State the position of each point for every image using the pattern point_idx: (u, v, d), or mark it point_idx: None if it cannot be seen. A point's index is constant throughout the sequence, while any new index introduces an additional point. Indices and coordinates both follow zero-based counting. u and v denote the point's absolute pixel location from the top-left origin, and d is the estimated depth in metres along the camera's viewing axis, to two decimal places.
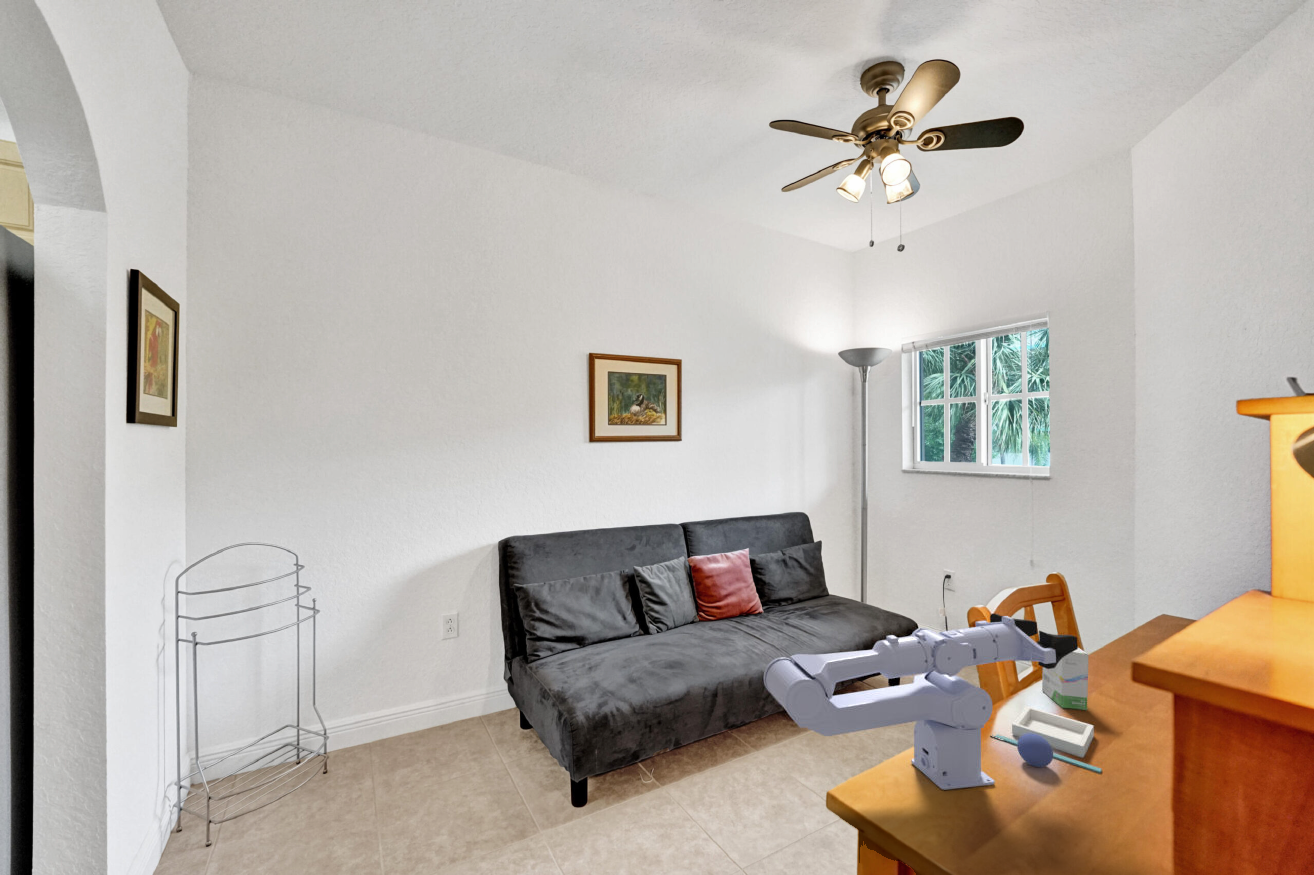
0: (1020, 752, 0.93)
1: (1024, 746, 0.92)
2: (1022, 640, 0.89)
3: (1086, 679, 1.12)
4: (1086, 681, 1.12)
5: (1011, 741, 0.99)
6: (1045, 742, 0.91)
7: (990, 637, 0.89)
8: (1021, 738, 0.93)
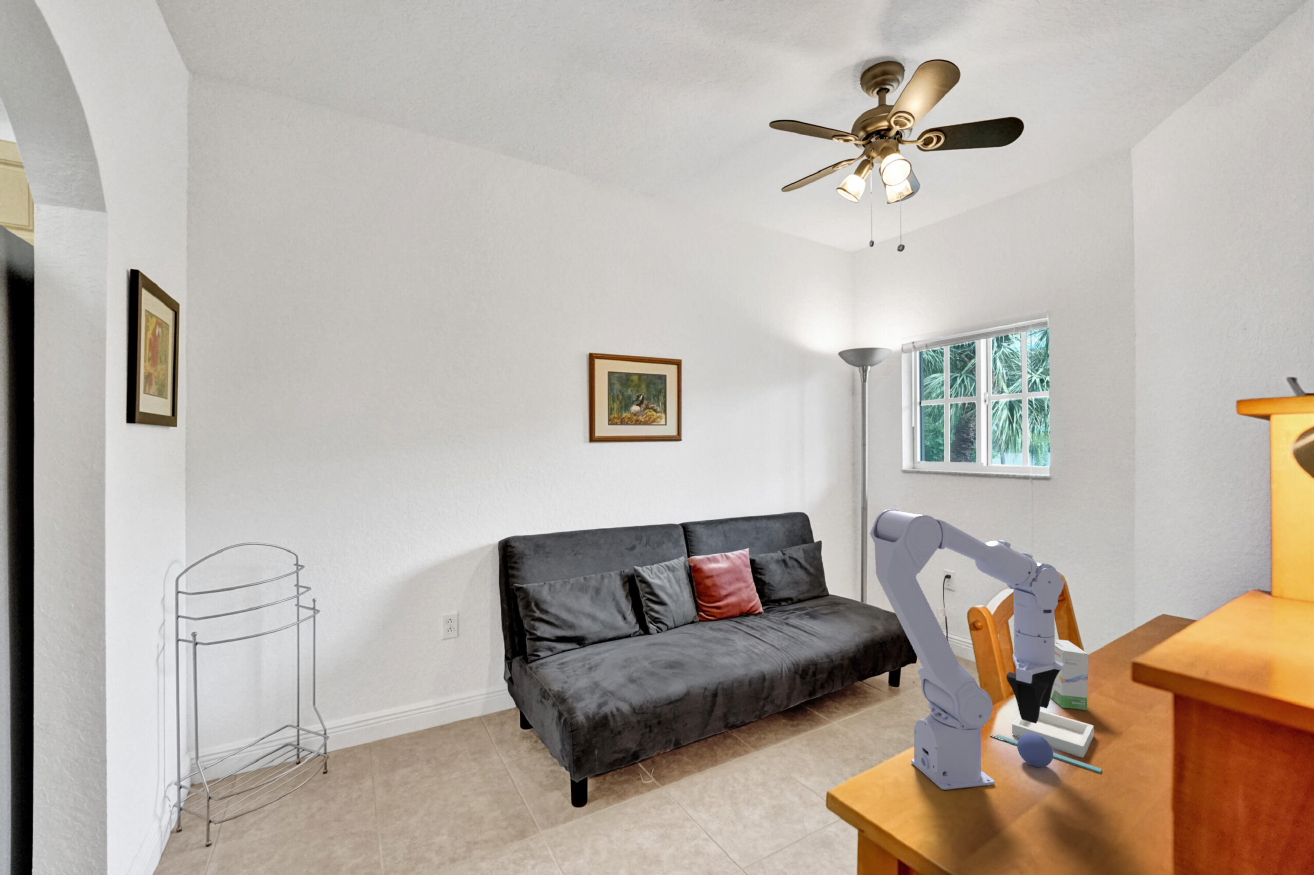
0: (1020, 752, 0.93)
1: (1024, 746, 0.92)
2: (1037, 665, 0.90)
3: (1086, 679, 1.12)
4: (1086, 681, 1.12)
5: (1011, 741, 0.99)
6: (1045, 742, 0.91)
7: (1054, 631, 0.91)
8: (1021, 738, 0.93)
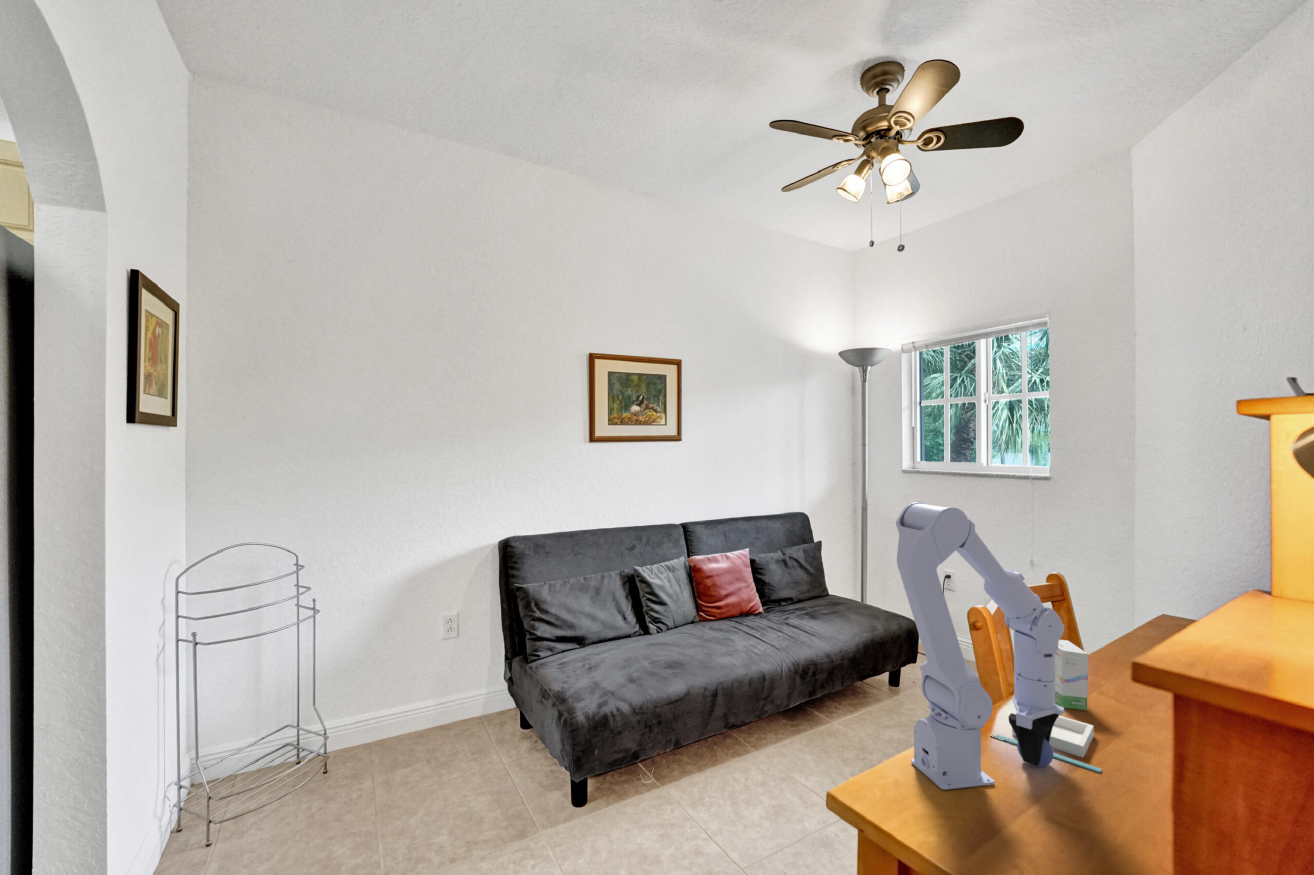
0: (1020, 752, 0.93)
1: None
2: (1038, 710, 0.90)
3: (1086, 679, 1.12)
4: (1086, 681, 1.12)
5: (1011, 741, 0.99)
6: (1045, 742, 0.91)
7: None
8: None
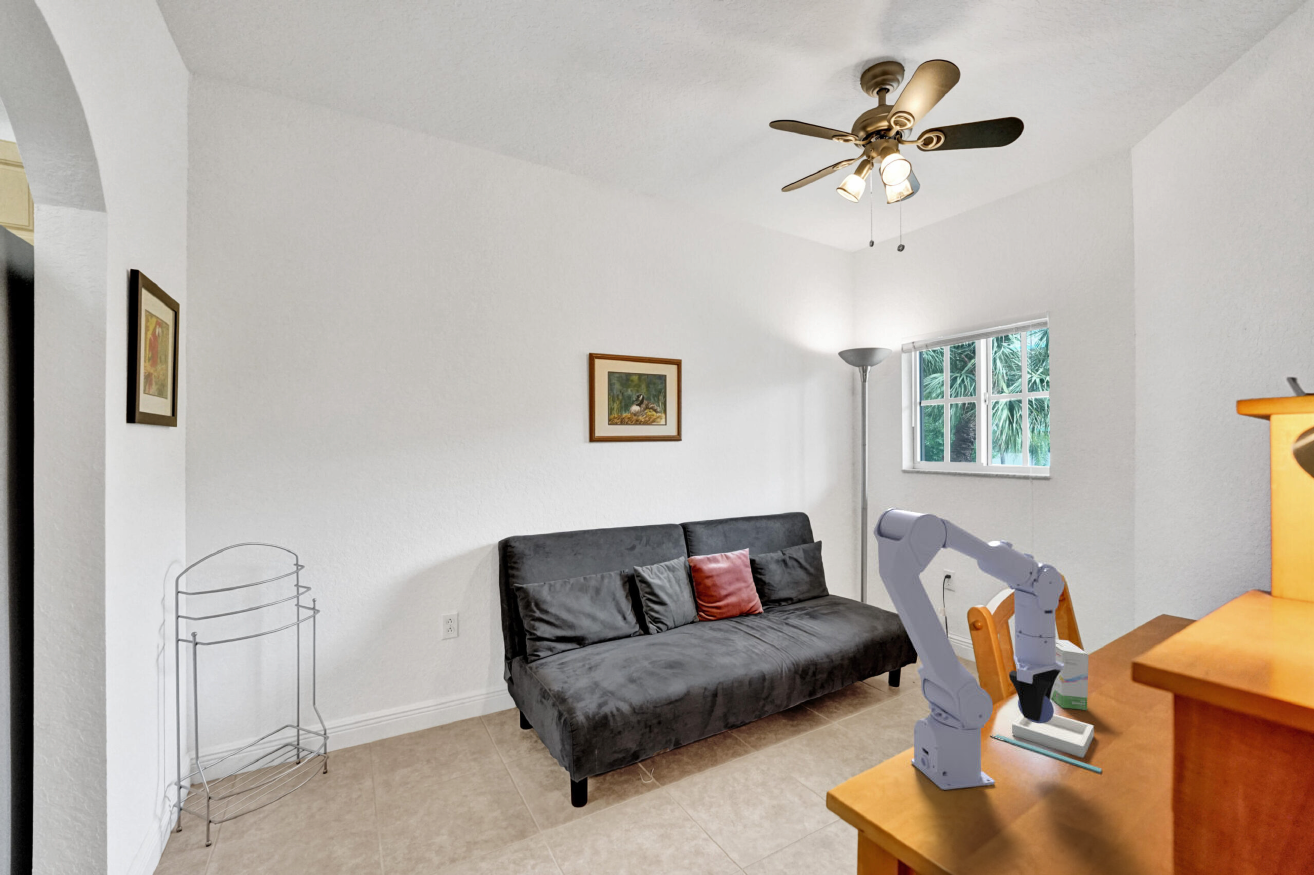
0: (1021, 709, 0.93)
1: None
2: (1038, 666, 0.91)
3: (1086, 679, 1.12)
4: (1086, 681, 1.12)
5: (1011, 741, 0.99)
6: (1046, 698, 0.92)
7: None
8: None
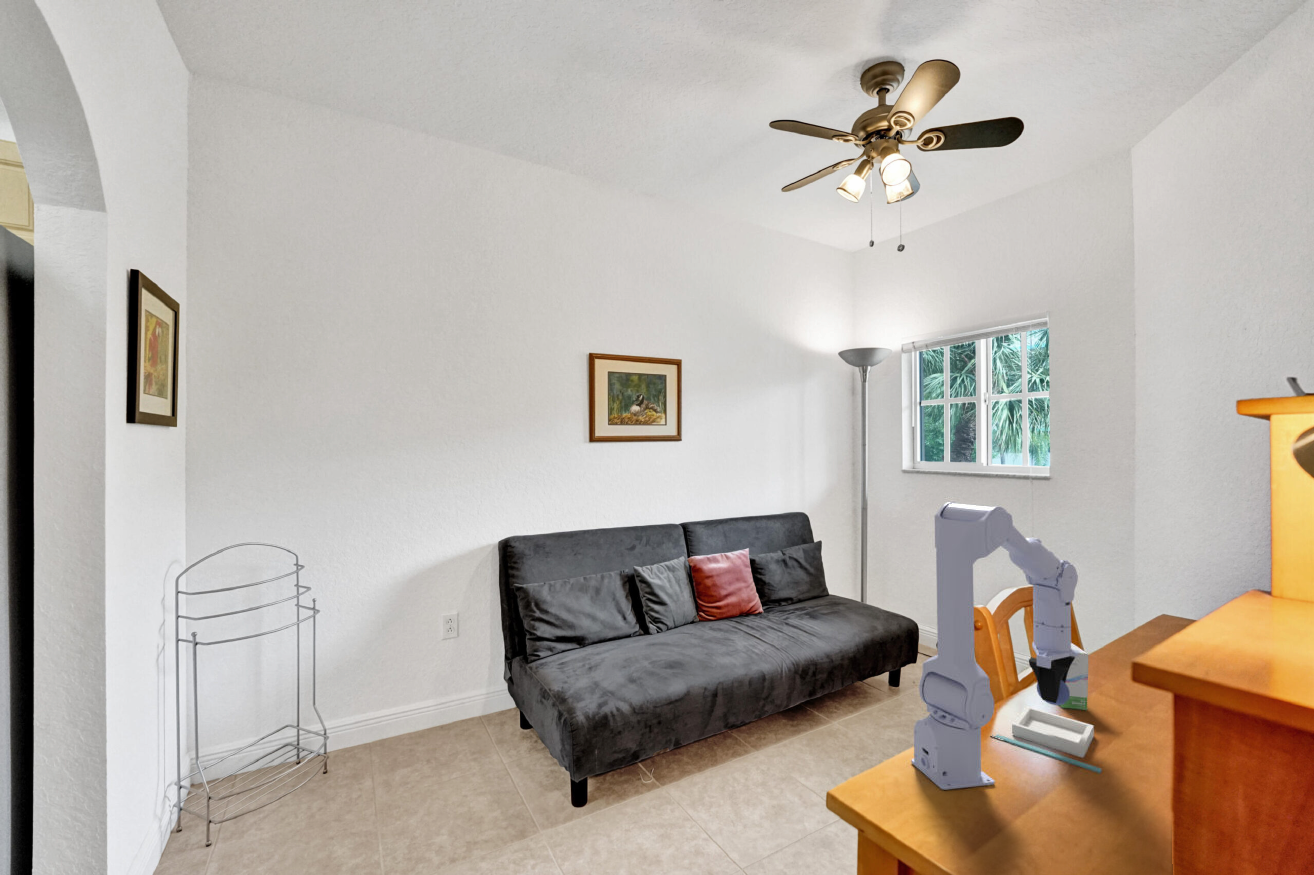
0: (1039, 692, 1.02)
1: None
2: (1055, 653, 1.00)
3: (1086, 679, 1.12)
4: (1086, 681, 1.12)
5: (1011, 741, 0.99)
6: (1062, 682, 1.01)
7: None
8: None
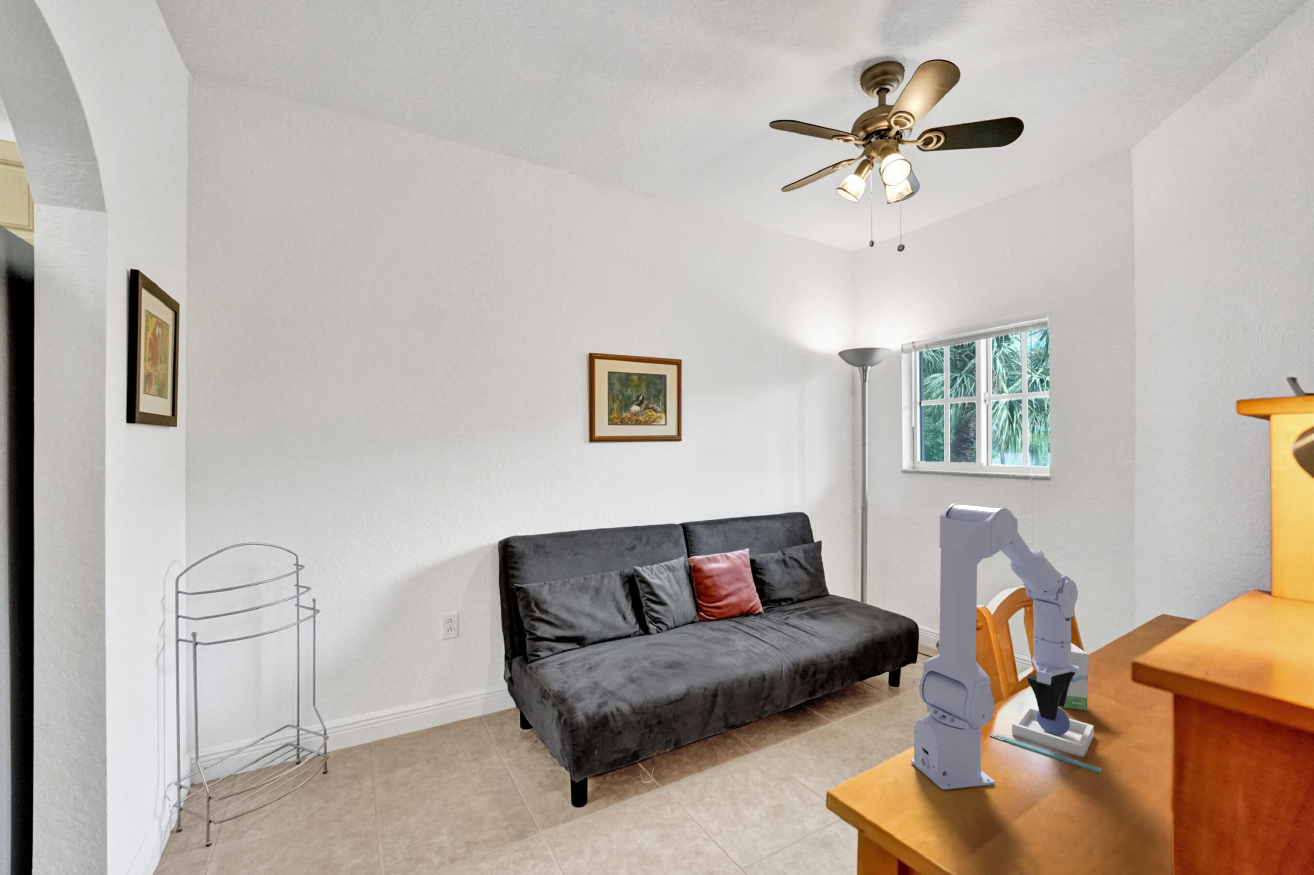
0: (1040, 722, 1.02)
1: None
2: (1056, 668, 1.00)
3: (1086, 679, 1.12)
4: (1086, 681, 1.12)
5: (1011, 741, 0.99)
6: (1062, 712, 1.01)
7: None
8: None
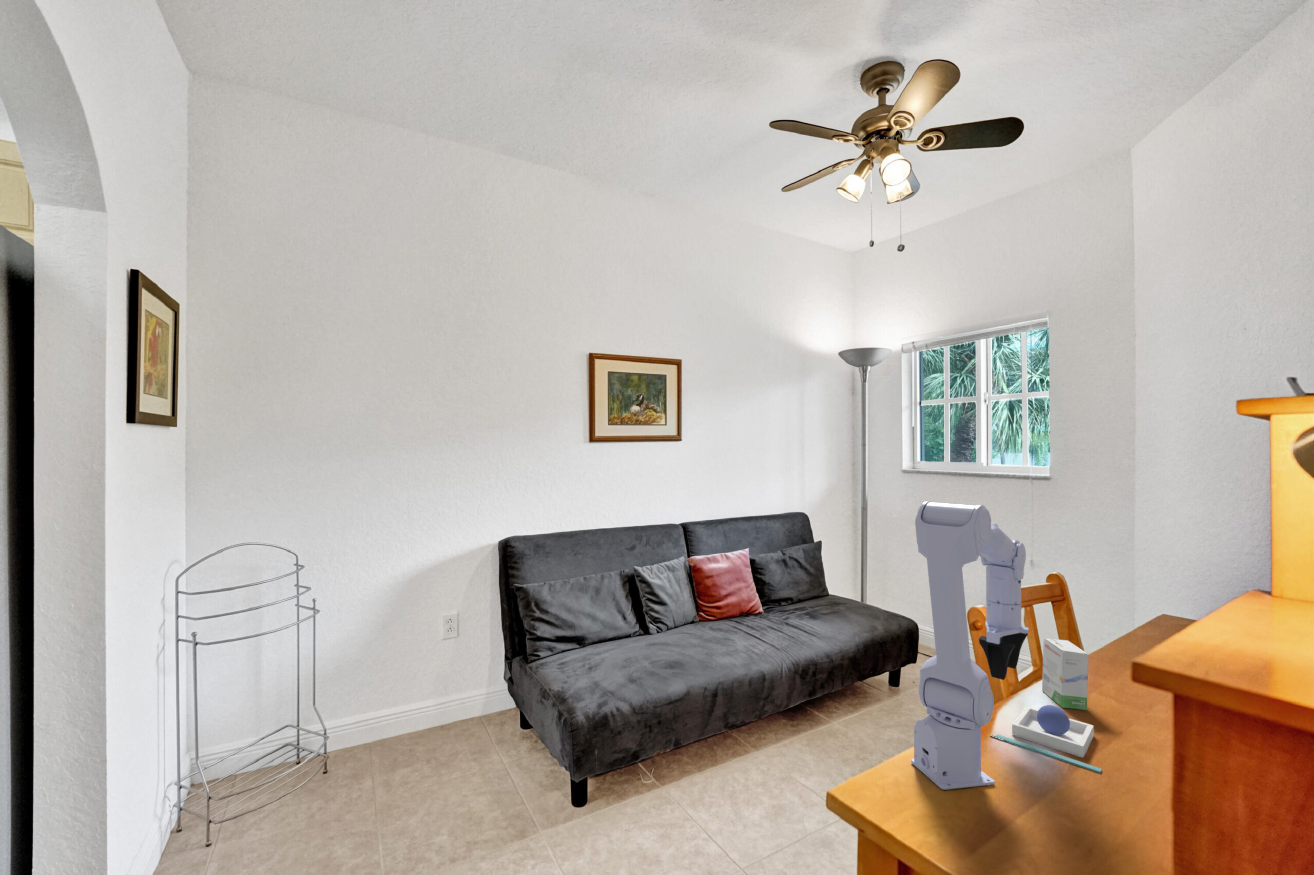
0: (1040, 722, 1.02)
1: (1043, 717, 1.02)
2: (1006, 629, 1.03)
3: (1086, 679, 1.13)
4: (1086, 681, 1.12)
5: (1011, 741, 0.99)
6: (1062, 713, 1.01)
7: None
8: (1040, 709, 1.03)
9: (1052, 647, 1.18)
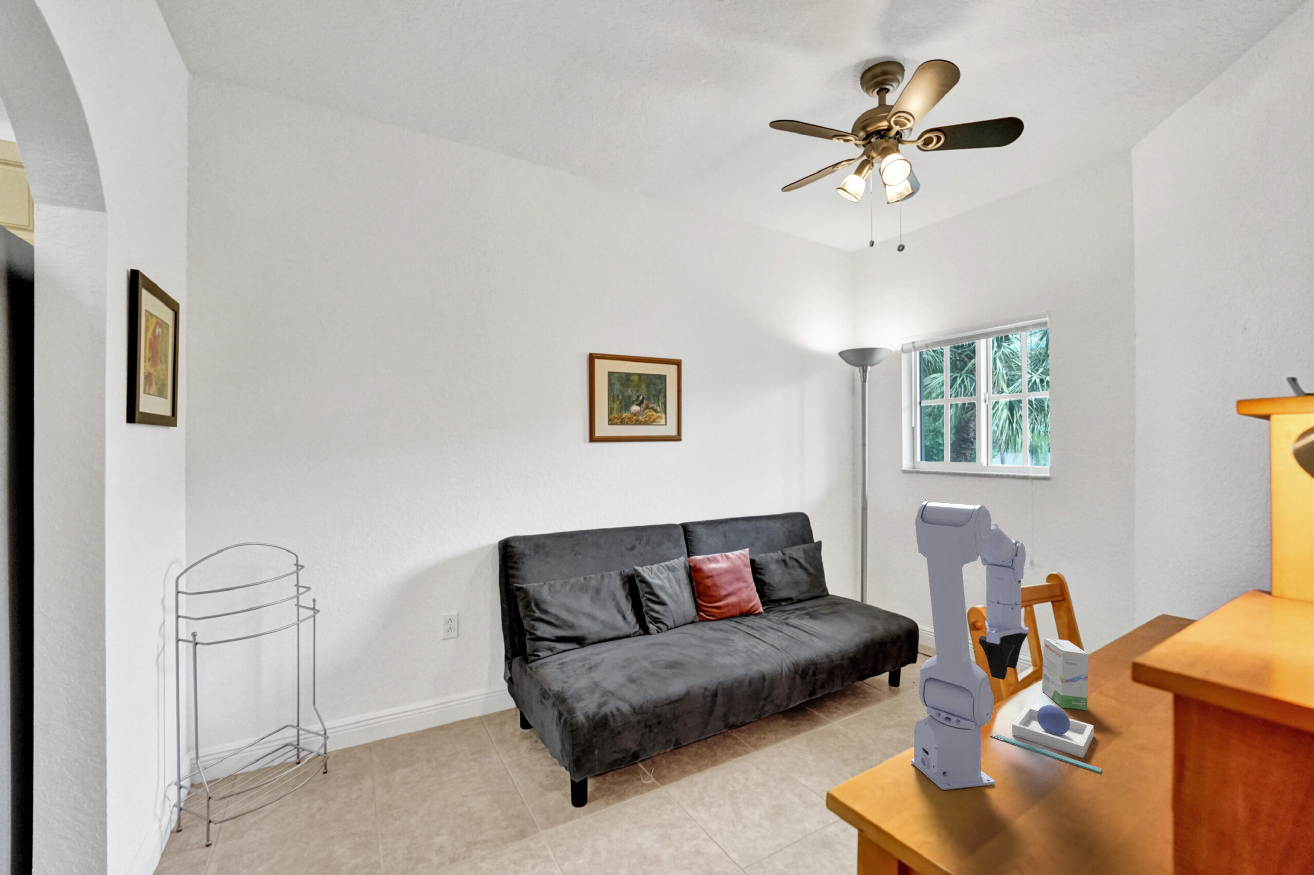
0: (1040, 722, 1.02)
1: (1043, 716, 1.02)
2: (1006, 629, 1.03)
3: (1086, 679, 1.12)
4: (1086, 681, 1.12)
5: (1011, 741, 0.99)
6: (1063, 713, 1.01)
7: None
8: (1040, 709, 1.03)
9: (1052, 647, 1.18)
